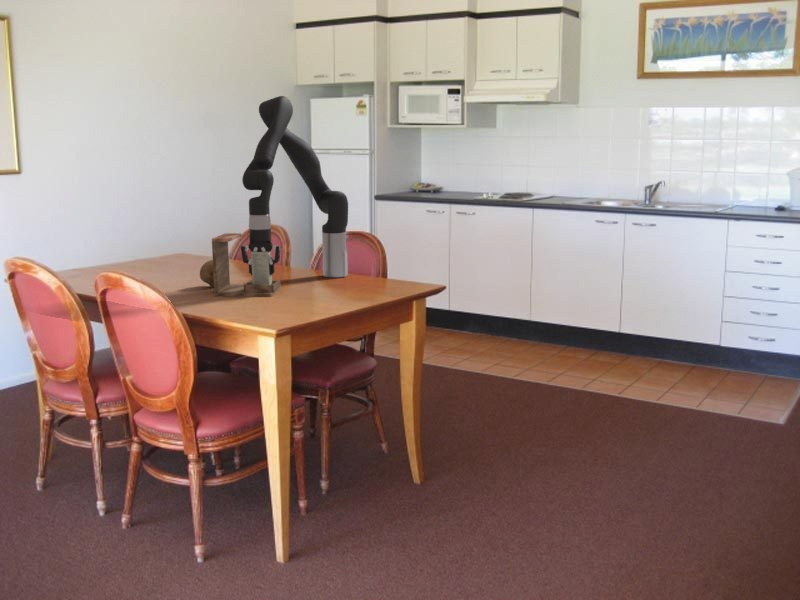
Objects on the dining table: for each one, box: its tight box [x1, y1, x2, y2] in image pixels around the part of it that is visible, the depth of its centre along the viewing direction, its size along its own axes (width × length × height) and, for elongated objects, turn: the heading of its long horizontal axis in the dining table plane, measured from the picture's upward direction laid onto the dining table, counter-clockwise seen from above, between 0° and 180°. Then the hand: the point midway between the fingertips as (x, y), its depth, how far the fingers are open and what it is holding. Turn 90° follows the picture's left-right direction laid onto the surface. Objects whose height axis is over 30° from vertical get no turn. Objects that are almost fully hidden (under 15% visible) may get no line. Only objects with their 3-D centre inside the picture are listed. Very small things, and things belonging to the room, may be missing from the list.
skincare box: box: [250, 251, 273, 285], centre depth 311 cm, size 6×4×12 cm
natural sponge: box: [199, 259, 214, 288], centre depth 324 cm, size 9×9×10 cm
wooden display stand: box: [211, 232, 282, 297], centre depth 312 cm, size 20×16×20 cm
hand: (261, 274), depth 312 cm, fingers closed on skincare box, 6 cm apart
